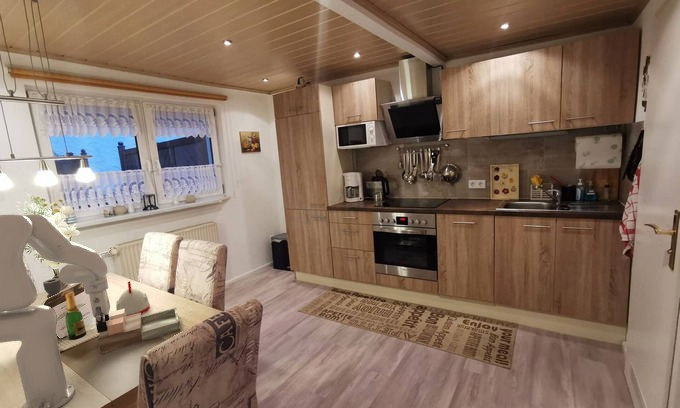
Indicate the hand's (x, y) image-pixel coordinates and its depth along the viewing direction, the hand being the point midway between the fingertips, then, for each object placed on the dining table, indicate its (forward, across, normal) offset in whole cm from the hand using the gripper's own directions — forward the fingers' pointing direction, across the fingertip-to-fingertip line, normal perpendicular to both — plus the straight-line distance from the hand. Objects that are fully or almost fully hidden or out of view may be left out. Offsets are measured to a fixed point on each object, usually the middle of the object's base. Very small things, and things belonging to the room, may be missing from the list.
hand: (103, 326), depth 132 cm
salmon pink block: (+1, -5, -5) cm, 7 cm away
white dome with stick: (+8, +27, -9) cm, 29 cm away
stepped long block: (+7, 0, -13) cm, 15 cm away
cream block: (+1, +4, -5) cm, 7 cm away
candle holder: (+8, +20, +17) cm, 28 cm away
